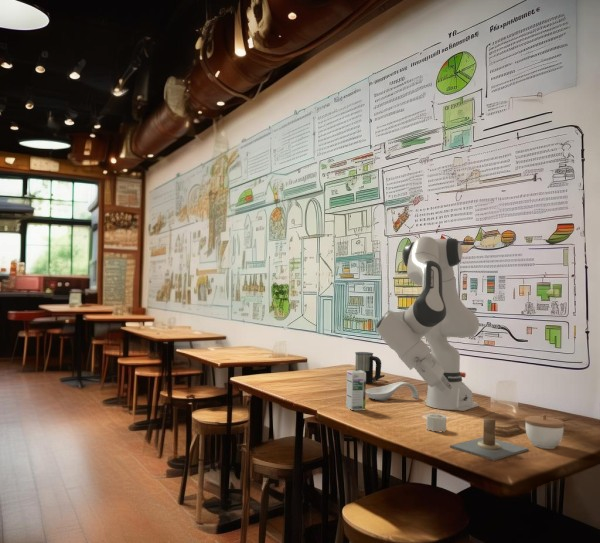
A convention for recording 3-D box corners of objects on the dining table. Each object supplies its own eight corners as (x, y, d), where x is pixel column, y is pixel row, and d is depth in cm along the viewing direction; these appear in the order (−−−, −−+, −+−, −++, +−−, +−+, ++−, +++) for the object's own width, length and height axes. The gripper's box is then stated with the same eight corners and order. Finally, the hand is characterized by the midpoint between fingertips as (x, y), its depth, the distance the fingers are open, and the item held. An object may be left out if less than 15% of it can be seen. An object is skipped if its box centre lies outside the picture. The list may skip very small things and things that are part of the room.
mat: (485, 438, 163) (485, 436, 163) (528, 450, 152) (528, 448, 152) (450, 447, 152) (450, 445, 152) (493, 460, 141) (493, 458, 141)
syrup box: (351, 411, 195) (352, 372, 196) (345, 407, 201) (346, 369, 202) (365, 410, 197) (366, 371, 198) (359, 407, 203) (360, 369, 203)
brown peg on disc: (485, 442, 156) (486, 416, 157) (504, 447, 152) (505, 420, 152) (473, 445, 153) (474, 418, 153) (492, 451, 148) (493, 423, 148)
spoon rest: (371, 402, 213) (372, 385, 214) (360, 397, 225) (360, 380, 225) (423, 401, 220) (423, 384, 221) (409, 395, 232) (409, 379, 232)
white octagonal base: (434, 426, 176) (434, 413, 176) (449, 430, 171) (449, 416, 172) (422, 428, 172) (423, 415, 173) (437, 433, 168) (438, 419, 168)
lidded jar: (552, 441, 163) (552, 411, 163) (571, 451, 152) (571, 419, 153) (518, 440, 163) (518, 410, 163) (534, 450, 152) (535, 418, 152)
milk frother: (352, 382, 260) (353, 352, 260) (358, 378, 275) (359, 350, 275) (380, 385, 255) (381, 354, 256) (385, 380, 270) (386, 351, 271)
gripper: (421, 352, 150) (456, 390, 146) (428, 346, 169) (458, 379, 165) (405, 367, 151) (439, 404, 147) (413, 359, 170) (444, 392, 167)
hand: (449, 391), depth 157 cm, fingers open, 8 cm apart
